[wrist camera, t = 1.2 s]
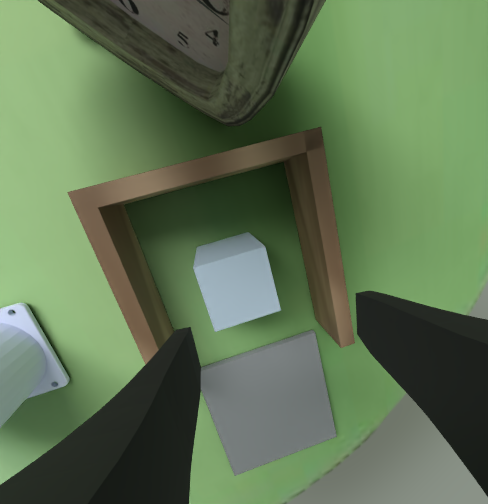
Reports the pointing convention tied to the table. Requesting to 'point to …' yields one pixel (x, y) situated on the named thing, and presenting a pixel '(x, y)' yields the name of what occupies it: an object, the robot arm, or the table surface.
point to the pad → (269, 401)
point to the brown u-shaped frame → (201, 171)
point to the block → (235, 280)
